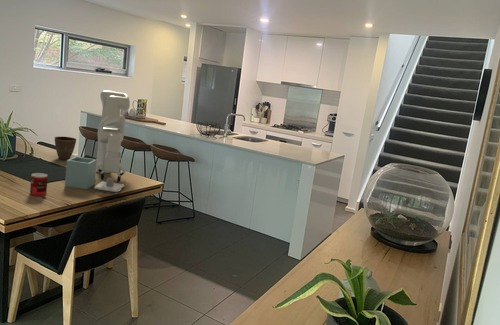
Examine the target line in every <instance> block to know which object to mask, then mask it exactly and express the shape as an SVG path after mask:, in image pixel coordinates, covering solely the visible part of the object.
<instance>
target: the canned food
mask: <svg viewBox="0 0 500 325" xmlns="http://www.w3.org/2000/svg"><path fill="white" fill-rule="evenodd" d="M48 176H49V175H48V174H47V173H43V172H34V173H31V175H30V187H29V188H30V189H29V193H30V195H31V196H34V197H44V196H45V195H47V192H48V190H47V189H48Z"/></svg>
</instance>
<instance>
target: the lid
mask: <svg viewBox="0 0 500 325" xmlns="http://www.w3.org/2000/svg"><path fill="white" fill-rule="evenodd" d="M123 187H124V188H125V184H123V183H117V182H115V178H113V177H107V178H106V181H104V180H101V182H99V183H97V184H96V185H94V190H95V189H98V190H104V191H111V192H118V191H119V190H120V189H122V188H123Z"/></svg>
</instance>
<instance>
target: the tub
mask: <svg viewBox="0 0 500 325" xmlns="http://www.w3.org/2000/svg"><path fill="white" fill-rule="evenodd" d="M96 163H97V158H96V159H95V158H88V157H81V156H74V157H70V159H69V160H66V168H65V180H64V187H68V188H74V189H75V188H76V189H81V190H82V189H83V190H88V189H90V188H91V187H92V186H95V183H96V175H97V174H96V173H97V172H96Z"/></svg>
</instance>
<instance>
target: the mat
mask: <svg viewBox="0 0 500 325" xmlns="http://www.w3.org/2000/svg"><path fill="white" fill-rule="evenodd" d="M121 190H122V189H121ZM121 190H120V191H118V192H111V191H104V190H98V189H94V190H93V191H94V192H100V191H101V193H107V192H109V193H108V194H114V193H117V194H116V195H118V194H119V193H121V192H122V191H123V190H122V191H121Z"/></svg>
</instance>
